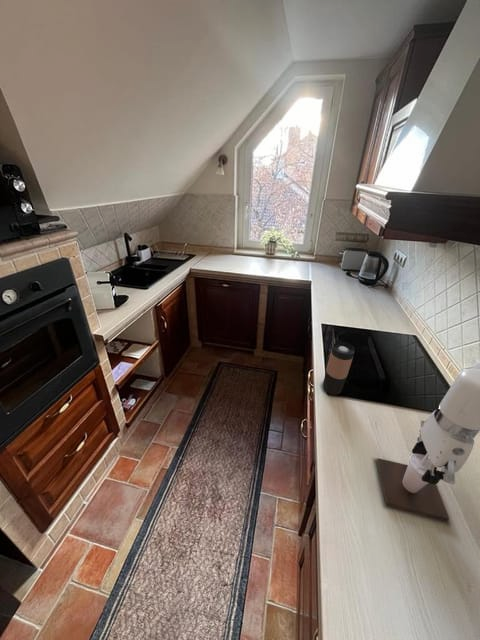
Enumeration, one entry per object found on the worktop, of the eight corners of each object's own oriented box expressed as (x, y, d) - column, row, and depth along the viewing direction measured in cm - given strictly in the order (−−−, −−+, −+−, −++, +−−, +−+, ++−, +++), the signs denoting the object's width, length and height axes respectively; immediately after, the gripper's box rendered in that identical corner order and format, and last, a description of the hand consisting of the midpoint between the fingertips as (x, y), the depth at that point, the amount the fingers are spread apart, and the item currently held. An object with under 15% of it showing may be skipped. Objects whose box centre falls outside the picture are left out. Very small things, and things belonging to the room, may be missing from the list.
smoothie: (398, 468, 72) (417, 438, 65) (424, 482, 69) (447, 452, 62) (395, 488, 68) (414, 457, 60) (423, 504, 64) (447, 474, 57)
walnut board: (428, 473, 73) (430, 470, 72) (446, 521, 63) (449, 518, 62) (375, 460, 75) (377, 457, 75) (385, 505, 65) (387, 502, 65)
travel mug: (317, 384, 102) (328, 344, 91) (332, 379, 104) (344, 339, 94) (330, 398, 96) (343, 356, 85) (346, 392, 98) (360, 351, 88)
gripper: (501, 463, 46) (456, 509, 56) (456, 394, 61) (426, 440, 70) (455, 453, 48) (418, 500, 57) (422, 388, 62) (397, 433, 72)
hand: (423, 466), depth 64 cm, fingers closed on smoothie, 6 cm apart
